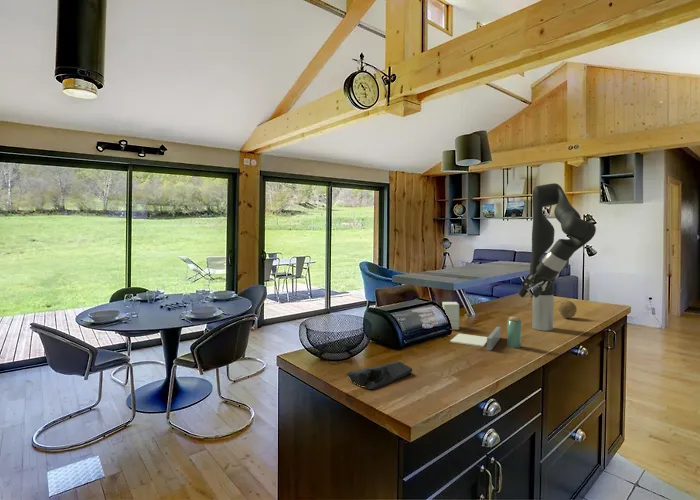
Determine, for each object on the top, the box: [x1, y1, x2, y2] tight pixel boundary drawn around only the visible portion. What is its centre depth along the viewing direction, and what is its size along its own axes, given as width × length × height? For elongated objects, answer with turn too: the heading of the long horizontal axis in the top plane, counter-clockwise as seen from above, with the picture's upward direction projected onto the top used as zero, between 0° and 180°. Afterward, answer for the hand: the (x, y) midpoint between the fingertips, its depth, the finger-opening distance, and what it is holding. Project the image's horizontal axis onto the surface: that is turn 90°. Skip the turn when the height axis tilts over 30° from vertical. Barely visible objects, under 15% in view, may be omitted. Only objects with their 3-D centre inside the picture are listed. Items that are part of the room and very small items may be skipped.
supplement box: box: [441, 301, 460, 330], centre depth 194 cm, size 7×7×13 cm
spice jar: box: [506, 316, 522, 349], centre depth 162 cm, size 5×5×12 cm
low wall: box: [486, 326, 502, 352], centre depth 166 cm, size 22×2×5 cm, turn 149°
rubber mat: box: [449, 333, 488, 348], centre depth 171 cm, size 14×14×1 cm
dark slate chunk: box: [345, 361, 413, 390], centre depth 130 cm, size 15×22×5 cm
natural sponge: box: [557, 299, 578, 319], centre depth 212 cm, size 9×9×10 cm
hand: (527, 295), depth 156 cm, fingers open, 8 cm apart
